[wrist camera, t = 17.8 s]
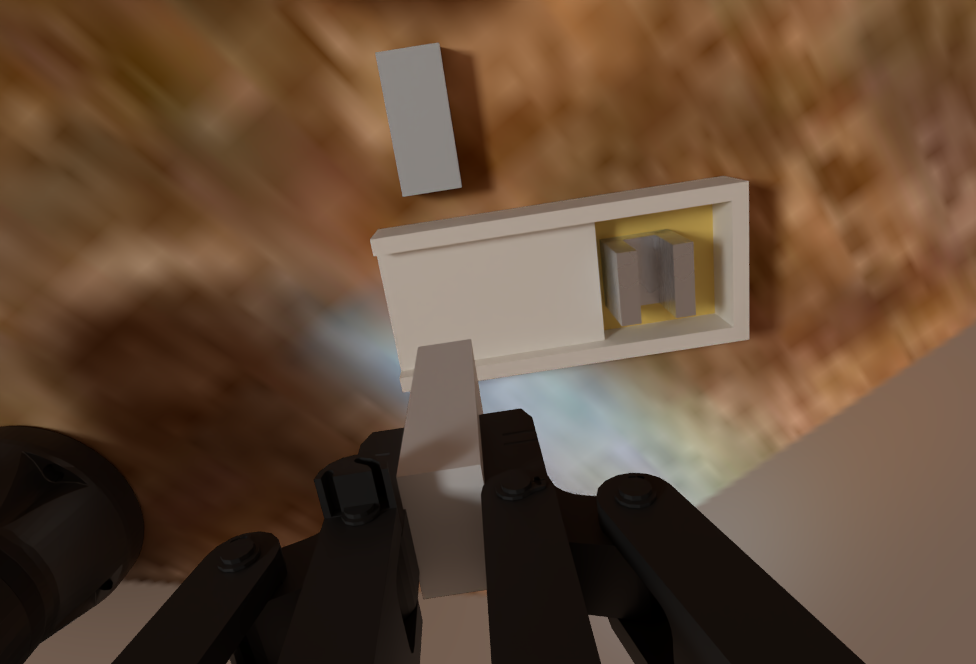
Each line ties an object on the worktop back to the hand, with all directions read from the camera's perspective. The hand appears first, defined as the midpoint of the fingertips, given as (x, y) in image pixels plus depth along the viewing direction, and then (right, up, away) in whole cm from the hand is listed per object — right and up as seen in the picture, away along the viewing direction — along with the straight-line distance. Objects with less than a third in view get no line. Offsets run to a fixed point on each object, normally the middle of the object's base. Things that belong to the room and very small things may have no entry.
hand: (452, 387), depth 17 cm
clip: (+11, +6, +23) cm, 26 cm away
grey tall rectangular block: (-3, +14, +20) cm, 25 cm away
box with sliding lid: (+6, +5, +23) cm, 25 cm away
